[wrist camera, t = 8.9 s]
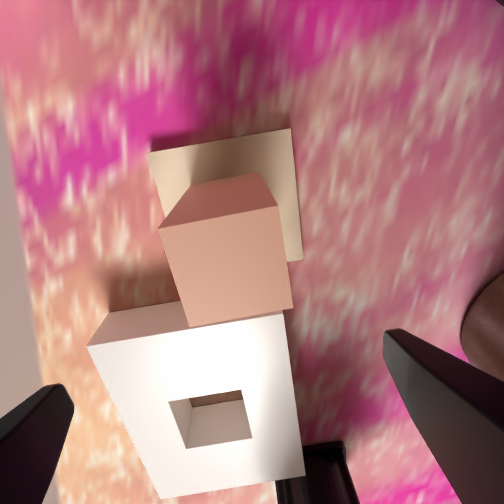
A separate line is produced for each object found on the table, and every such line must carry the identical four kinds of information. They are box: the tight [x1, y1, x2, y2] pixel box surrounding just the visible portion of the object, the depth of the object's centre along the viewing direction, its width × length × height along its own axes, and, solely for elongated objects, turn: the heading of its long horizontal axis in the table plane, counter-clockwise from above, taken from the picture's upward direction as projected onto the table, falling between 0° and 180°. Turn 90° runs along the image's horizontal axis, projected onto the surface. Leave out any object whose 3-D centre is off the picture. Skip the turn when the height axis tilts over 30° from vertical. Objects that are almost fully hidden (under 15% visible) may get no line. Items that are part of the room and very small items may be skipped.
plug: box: [158, 172, 294, 327], centre depth 14 cm, size 4×4×8 cm
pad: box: [147, 128, 303, 262], centre depth 18 cm, size 8×8×1 cm
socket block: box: [86, 301, 306, 499], centre depth 22 cm, size 12×16×4 cm
